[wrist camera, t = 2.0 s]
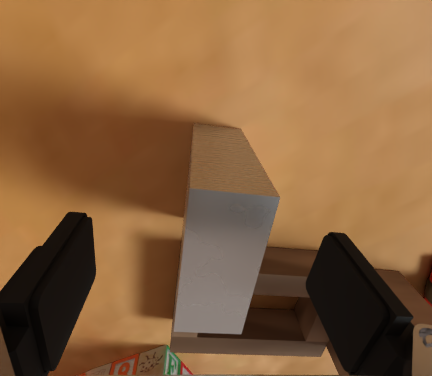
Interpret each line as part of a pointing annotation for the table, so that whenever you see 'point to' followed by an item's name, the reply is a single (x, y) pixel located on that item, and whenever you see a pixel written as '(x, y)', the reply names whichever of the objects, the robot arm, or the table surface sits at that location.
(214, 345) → the post socket
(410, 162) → the table surface
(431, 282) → the tow hook
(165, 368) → the stack of blocks
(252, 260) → the tall grey box
